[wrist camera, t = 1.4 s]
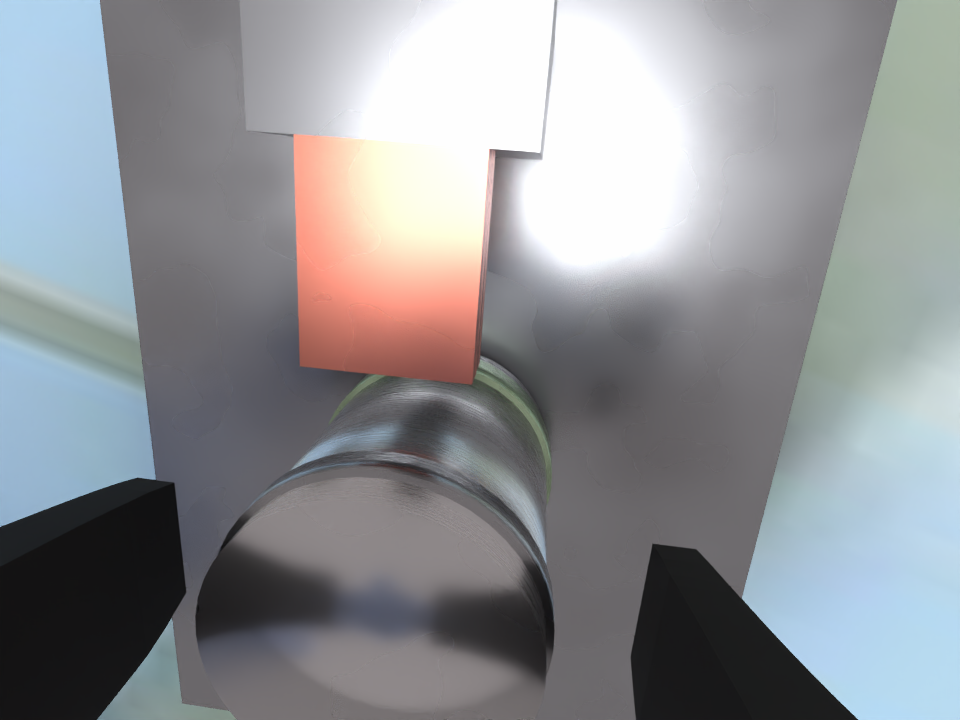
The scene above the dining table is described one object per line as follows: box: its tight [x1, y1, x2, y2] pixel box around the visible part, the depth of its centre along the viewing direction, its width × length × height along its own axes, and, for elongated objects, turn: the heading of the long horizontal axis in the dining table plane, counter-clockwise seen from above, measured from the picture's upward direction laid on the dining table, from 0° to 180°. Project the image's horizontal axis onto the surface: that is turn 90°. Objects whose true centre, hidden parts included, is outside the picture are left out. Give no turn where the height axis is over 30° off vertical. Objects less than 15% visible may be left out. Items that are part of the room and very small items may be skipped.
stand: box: [100, 0, 897, 720], centre depth 11 cm, size 14×18×7 cm
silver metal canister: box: [195, 355, 555, 720], centre depth 10 cm, size 5×5×6 cm
